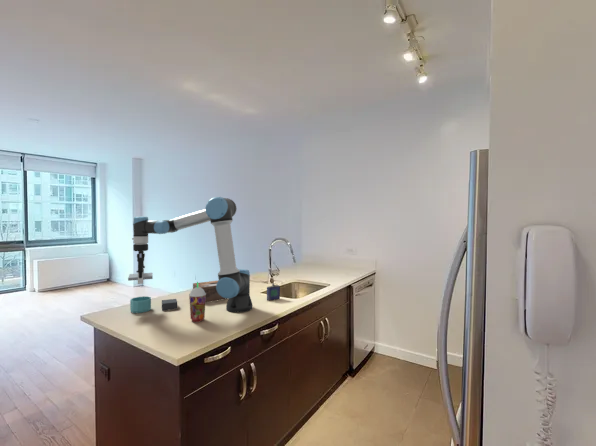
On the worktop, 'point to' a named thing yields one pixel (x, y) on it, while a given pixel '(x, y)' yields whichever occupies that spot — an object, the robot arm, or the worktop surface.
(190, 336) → the worktop surface
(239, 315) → the worktop surface
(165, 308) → the dark grey square block
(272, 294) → the blue box
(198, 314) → the smoothie
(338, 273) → the worktop surface
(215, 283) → the tissue box cover
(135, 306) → the bowl
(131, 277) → the grey flat square slab
